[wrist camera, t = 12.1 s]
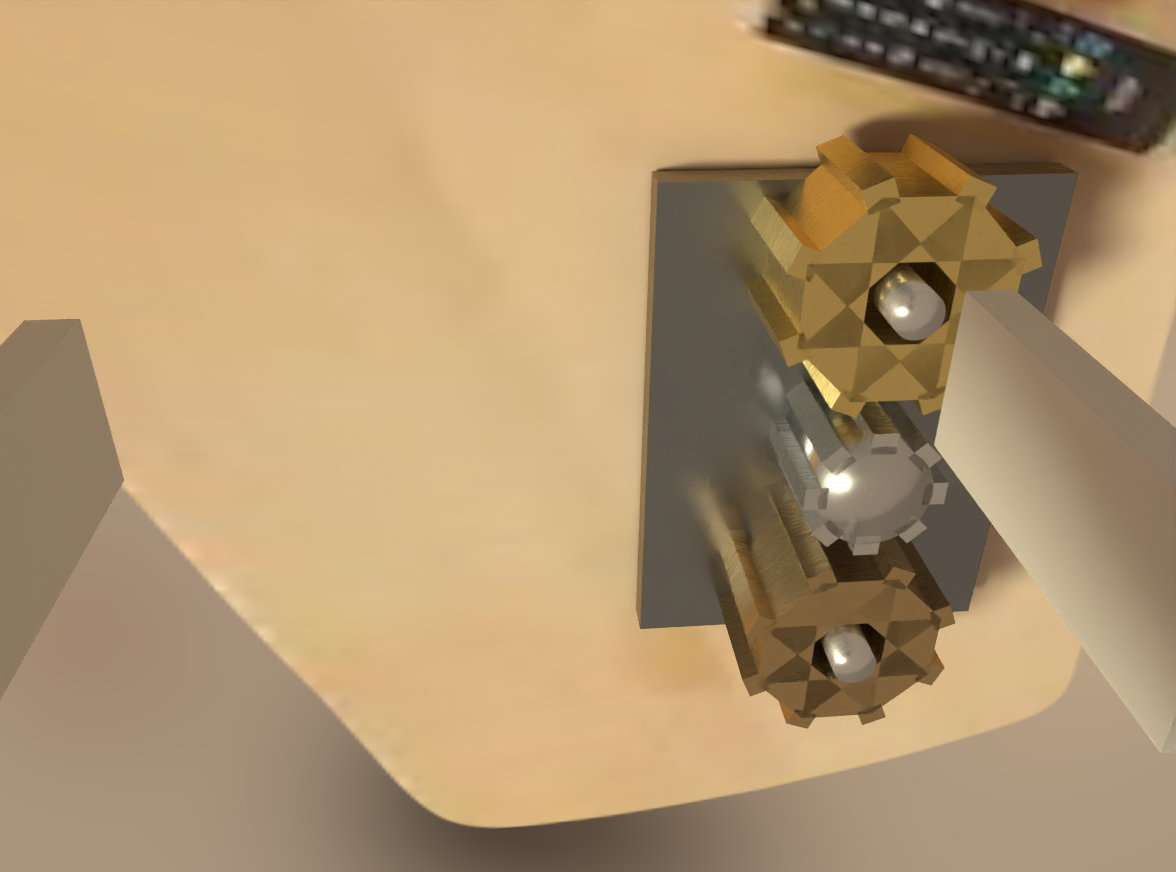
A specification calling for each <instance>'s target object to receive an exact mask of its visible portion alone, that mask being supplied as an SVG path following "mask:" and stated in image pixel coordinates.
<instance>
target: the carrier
mask: <svg viewBox="0 0 1176 872" xmlns="http://www.w3.org/2000/svg"><path fill="white" fill-rule="evenodd" d="M965 166H967V167H968V168H970V169H971V170H973V171H974V172H975V173H977V174H978V175H980V176H981V177H983V178H984V179H986V180H987V181H989V182H990V183H992V184H993V185H994V186H996V187H997V189H996V191H995V192H994V194H993V196H992V197H991V199H990V200H989V202H988V203H989V204H991V205H992V206H993V207H995V208H996V209H998V210H999V211H1000V212H1002V213H1003V214H1004V215H1006V216H1007V217H1009V218H1010V219H1011V220H1013V221H1014V222H1015V223H1017V224H1018V225H1020V226H1021V227H1022V228H1024V229H1025V230H1026V231H1028V232H1029V233H1030V234H1032V235H1033V236H1035V237H1036V238H1037V239H1038V245H1039V250H1040V256H1041V261H1042V267H1039V268H1037V269H1034V270H1032V271H1029V272H1027V273H1024V274H1022V276H1021V280H1020V284H1019V288H1018V293H1019V294H1020V295H1021V296H1022V297H1023V298H1024V299H1026V300H1027V301H1028V302H1029V303H1030V304H1031V305H1033V306H1034V307H1035V308H1036V309H1037V310H1038V311H1040V312H1041V313H1042V314H1043V310H1044V306H1045V302H1046V298H1047V294H1048V290H1049V286H1050V282H1051V278H1052V274H1053V270H1054V266H1055V262H1056V258H1057V254H1058V250H1059V246H1060V242H1061V238H1062V234H1063V230H1064V226H1065V222H1066V218H1067V214H1068V210H1069V206H1070V202H1071V198H1072V194H1073V190H1074V186H1075V182H1076V178H1077V174H1078V173H1076V172H1075V171H1073V170H1071V169H1069V168H1068V167H1066V166H1064V165H1062V164H1061V163H1030V164H982V165H965ZM816 169H817V168H791V169H743V170H695V171H652V187H651V214H650V242H649V270H648V298H647V325H646V353H645V381H644V409H643V437H642V464H641V492H640V520H639V548H638V575H637V603H636V610H637V616H638V621H639V626H640V629H648V628H666V627H684V626H702V625H720V624H725V620H724V617H723V614H722V611H721V607H720V604H719V601H718V598H720V597H723V596H726V595H728V594H731V593H732V590H733V589H732V586H731V583H730V580H729V577H728V574H727V571H726V568H725V565H724V562H723V559H722V554H723V552H724V551H725V549H726V547H727V546H728V544H729V542H730V540H731V539H732V538H734V539H738V540H741V541H744V542H747V541H748V540H749V539H750V538H752V537H753V536H754V535H755V534H757V533H758V532H759V531H760V530H762V529H763V528H764V527H765V526H767V525H768V524H769V523H770V522H772V521H773V520H774V519H775V518H776V517H778V516H779V515H778V512H777V510H776V507H775V503H777V502H780V501H783V500H785V499H788V498H791V497H793V496H794V497H795V499H796V501H797V503H798V505H799V508H800V510H801V512H802V514H803V516H804V518H805V520H806V523H807V525H808V527H809V529H810V531H811V533H812V534H813V535H814V536H815V537H816V538H817V539H818V540H819V541H820V542H822V543H823V544H824V545H825V546H826V547H828V546H829V545H831V544H832V543H833V542H835V541H836V540H837V539H838V538H840V539H842V540H845V541H846V542H847V544H848V546H849V548H850V550H851V552H852V554H853V555H870V554H878V549H879V544H880V542H882V541H885V540H888V539H891V538H893V537H896V536H898V535H899V536H900V537H901V538H902V539H903V540H904V541H905V542H906V543H908V542H909V541H912V543H913V544H914V546H915V548H916V549H917V551H918V553H919V554H920V556H921V558H922V559H923V561H924V563H925V564H926V566H927V568H928V569H929V571H930V573H931V574H932V576H933V578H934V579H935V581H936V583H937V584H938V586H939V588H940V589H941V591H942V593H943V594H944V596H945V597H946V599H947V601H948V602H949V604H950V606H951V610H952V612H955V611H968V609H969V605H970V601H971V597H972V593H973V589H974V585H975V581H976V577H977V573H978V569H979V565H980V561H981V557H982V553H983V549H984V545H985V541H986V537H987V533H988V529H989V525H990V520H989V519H988V518H987V516H986V515H985V514H984V512H983V511H982V510H981V508H980V507H979V506H978V504H977V503H976V501H975V500H974V499H973V497H972V496H971V495H970V493H969V492H968V491H967V489H966V488H965V487H964V485H963V484H962V482H961V481H960V480H959V478H958V477H957V476H956V474H955V473H954V472H953V470H952V469H951V468H950V466H949V465H948V463H947V462H946V461H945V459H944V458H943V457H942V455H941V454H940V453H939V451H938V450H937V448H936V447H935V446H934V443H935V438H936V433H937V428H938V423H939V418H940V414H941V409H942V408H941V409H939V410H936V411H933V412H931V413H928V414H926V415H922V413H921V412H920V411H919V410H918V408H917V407H916V406H915V404H914V403H913V402H912V400H901V401H875V402H866V403H865V405H864V406H863V408H862V410H861V411H860V413H859V414H858V416H857V418H854V417H852V416H849V415H846V414H843V413H840V412H837V411H834V410H832V409H831V408H830V407H829V405H828V404H827V402H826V400H825V399H824V397H823V395H822V394H821V392H820V390H819V389H818V387H817V385H816V384H815V382H814V380H813V379H812V377H811V375H810V374H809V372H808V370H807V369H806V367H805V365H804V364H803V362H800V363H797V364H795V365H792V366H790V367H788V366H787V364H786V363H785V361H784V359H783V357H782V356H781V354H780V352H779V350H778V349H777V347H776V345H775V343H774V342H773V340H772V338H771V336H770V335H769V333H768V331H767V329H766V328H765V326H764V324H763V322H762V321H761V319H760V317H759V315H758V314H757V312H756V310H755V308H754V307H753V304H752V301H751V298H750V295H749V292H748V290H747V287H746V284H745V283H747V282H749V281H752V280H754V279H757V278H759V277H762V276H763V267H764V257H765V246H766V243H765V241H764V240H763V238H762V237H761V235H760V234H759V232H758V231H757V230H756V228H755V227H754V225H753V224H752V222H751V220H752V218H753V216H754V214H755V212H756V210H757V208H758V206H759V204H760V202H761V200H762V198H763V196H767V197H769V198H772V199H774V200H777V201H779V202H781V201H782V200H783V199H784V198H785V197H787V196H788V195H789V194H790V193H791V192H792V191H793V190H794V189H795V188H796V187H797V186H798V185H799V184H801V183H802V182H803V181H804V180H805V179H806V178H807V177H808V176H809V175H810V174H811V173H812V172H814V171H815V170H816ZM868 298H869V300H870V301H871V302H872V303H873V304H874V306H875V307H876V308H877V309H878V310H879V312H880V313H881V314H882V315H883V317H884V318H885V319H886V320H887V321H888V323H889V324H890V325H891V326H892V327H893V329H894V330H895V331H896V332H897V333H898V334H899V335H900V336H901V337H902V338H904V339H907V340H921V339H924V338H927V337H929V336H931V335H932V334H933V333H935V332H936V331H937V330H938V329H939V328H940V326H941V325H942V323H943V321H944V318H945V313H946V308H945V304H944V302H943V300H942V299H941V297H940V296H939V295H938V294H937V293H936V292H935V291H934V290H933V289H932V288H931V287H930V286H929V285H928V284H927V283H926V282H925V281H924V280H923V279H922V278H921V277H920V276H919V275H918V274H917V273H916V272H915V271H914V270H913V269H912V268H911V267H910V266H909V265H908V264H907V263H898V264H897V265H896V266H895V267H893V268H892V269H891V270H890V271H889V272H888V273H886V274H885V275H884V276H883V277H882V278H881V279H879V280H878V281H877V282H876V283H875V284H874V285H873V286H871V287H870V288H869V292H868ZM820 641H821V643H822V646H823V648H824V650H825V653H826V655H827V658H828V660H829V662H830V665H831V667H832V670H833V672H834V674H835V676H836V677H837V678H838V679H839V680H841V681H843V682H848V683H853V682H858V681H861V680H863V679H865V678H867V677H868V676H870V675H871V674H872V672H873V671H874V669H875V667H876V659H875V657H874V655H873V653H872V651H871V649H870V646H869V644H868V642H867V640H866V638H865V636H864V634H863V632H862V630H861V627H860V625H859V624H846V625H837V626H836V627H835V628H833V629H832V630H831V631H829V632H828V633H827V634H825V635H824V636H823V637H821V638H820Z"/></svg>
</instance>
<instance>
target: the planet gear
mask: <svg viewBox="0 0 1176 872" xmlns="http://www.w3.org/2000/svg"><path fill="white" fill-rule="evenodd" d="M816 149H817V153H818V156H819V160H820V163H821V165H820V166H819V167H818V168H817V169H816V170H815V171H814V172H812V173H811V174H810V175H809V176H808V177H807V178H806V179H805V180H804V181H803V182H802V183H801V184H799V185H798V186H797V187H796V188H795V189H794V190H793V191H792V192H791V193H790V194H789V195H788V196H787V197H785V198H784V199H783V200H782V201H781V202H779V201H777V200H774V199H772V198H769V197H767V196H763V198H762V200H761V202H760V204H759V206H758V208H757V210H756V212H755V214H754V216H753V218H752V220H751V222H752V224H753V225H754V227H755V228H756V230H757V231H758V232H759V234H760V235H761V237H762V238H763V240H764V241H765V243H766V246H765V257H764V267H763V276H762V277H759V278H757V279H754V280H752V281H749V282H747V283H745V284H746V287H747V290H748V292H749V295H750V298H751V301H752V304H753V307H754V308H755V310H756V312H757V314H758V315H759V317H760V319H761V321H762V322H763V324H764V326H765V328H766V329H767V331H768V333H769V335H770V336H771V338H772V340H773V342H774V343H775V345H776V347H777V349H778V350H779V352H780V354H781V356H782V357H783V359H784V361H785V363H786V364H787V366H788V367H790V366H792V365H795V364H797V363H800V362H803V364H804V365H805V367H806V369H807V370H808V372H809V374H810V375H811V377H812V379H813V380H814V382H815V384H816V385H817V387H818V389H819V390H820V392H821V394H822V395H823V397H824V399H825V400H826V402H827V404H828V405H829V407H830V408H831V409H832V410H834V411H837V412H840V413H843V414H846V415H849V416H852V417H854V418H857V416H858V414H859V413H860V411H861V410H862V408H863V406H864V405H865V403H866V402H875V401H901V400H912V402H913V403H914V404H915V406H916V407H917V408H918V410H919V411H920V412H921V413H922V415H926V414H928V413H931V412H933V411H936V410H939V409H941V408H942V404H943V399H944V394H945V389H946V384H947V380H948V375H949V370H950V365H951V360H952V355H953V350H954V346H955V341H956V336H957V331H958V326H959V321H960V316H961V312H962V307H963V302H964V297H965V292H966V291H981V290H1013V289H1014V290H1015V291H1016V292H1017V293H1018V288H1019V284H1020V280H1021V276H1022V274H1024V273H1027V272H1029V271H1032V270H1034V269H1037V268H1039V267H1042V261H1041V256H1040V250H1039V245H1038V239H1037V238H1036V237H1035V236H1033V235H1032V234H1030V233H1029V232H1028V231H1026V230H1025V229H1024V228H1022V227H1021V226H1020V225H1018V224H1017V223H1015V222H1014V221H1013V220H1011V219H1010V218H1009V217H1007V216H1006V215H1004V214H1003V213H1002V212H1000V211H999V210H998V209H996V208H995V207H993V206H992V205H991V204H989V203H988V202H989V200H990V199H991V197H992V196H993V194H994V192H995V191H996V189H997V187H996V186H994V185H993V184H992V183H990V182H989V181H987V180H986V179H984V178H983V177H981V176H980V175H978V174H977V173H975V172H974V171H973V170H971V169H970V168H968V167H967V166H965V165H964V164H962V163H961V162H959V161H958V160H956V159H955V158H954V157H952V156H951V155H949V154H948V153H946V152H945V151H943V150H942V149H940V148H939V147H938V146H936V145H935V144H932V143H930V142H928V141H926V140H923V139H921V138H919V137H917V136H914V135H912V134H910V135H909V137H908V139H907V141H906V142H905V144H904V146H903V148H902V150H901V151H900V152H875V153H865V152H864V151H862V150H861V149H860V148H859V147H858V146H856V145H855V144H854V143H853V142H852V141H850V140H849V139H848V138H847V137H846V136H844V135H842V136H840V137H838V138H835V139H833V140H831V141H828V142H826V143H823V144H821V145H819V146H816ZM898 263H907V264H908V265H909V266H910V267H911V268H912V269H913V270H914V271H915V272H916V273H917V274H918V275H919V276H920V277H921V278H922V279H923V280H924V281H925V282H926V283H927V284H928V285H929V286H930V287H931V288H932V289H933V290H934V291H935V292H936V293H937V294H938V295H939V296H940V297H941V299H942V300H943V302H944V304H945V308H946V313H945V318H944V321H943V323H942V325H941V326H940V328H939V329H938V330H937V331H936V332H935V333H933V334H932V335H931V336H929V337H927V338H924V339H921V340H907V339H904V338H902V337H901V336H900V335H899V334H898V333H897V332H896V331H895V330H894V329H893V327H892V326H891V325H890V324H889V323H888V321H887V320H886V319H885V318H884V317H883V315H882V314H881V313H880V312H879V310H878V309H877V308H876V307H875V306H874V304H873V303H872V302H871V301H870V300H869V298H868V292H869V288H870V287H871V286H873V285H874V284H875V283H876V282H877V281H878V280H879V279H881V278H882V277H883V276H884V275H885V274H886V273H888V272H889V271H890V270H891V269H892V268H893V267H895V266H896V265H897V264H898Z"/></svg>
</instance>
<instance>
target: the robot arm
mask: <svg viewBox="0 0 1176 872" xmlns="http://www.w3.org/2000/svg"><path fill="white" fill-rule="evenodd" d="M934 446H935V447H936V448H937V450H938V451H939V453H940V454H941V455H942V457H943V458H944V459H945V461H946V462H947V463H948V465H949V466H950V468H951V469H952V470H953V472H954V473H955V474H956V476H957V477H958V478H959V480H960V481H961V482H962V484H963V485H964V487H965V488H966V489H967V491H968V492H969V493H970V495H971V496H972V497H973V499H974V500H975V501H976V503H977V504H978V506H979V507H980V508H981V510H982V511H983V512H984V514H985V515H986V516H987V518H988V519H989V520H990V522H991V523H992V525H993V526H994V527H995V529H996V530H997V531H998V533H999V534H1000V535H1001V537H1002V538H1003V540H1004V541H1005V542H1006V544H1007V545H1008V546H1009V548H1010V549H1011V550H1012V552H1013V553H1014V554H1015V556H1016V557H1017V559H1018V560H1019V561H1020V563H1021V564H1022V565H1023V567H1024V568H1025V569H1026V571H1027V572H1028V573H1029V575H1030V576H1031V578H1032V579H1033V580H1034V582H1035V583H1036V584H1037V586H1038V587H1039V588H1040V590H1041V591H1042V593H1043V594H1044V595H1045V597H1046V598H1047V599H1048V601H1049V602H1050V603H1051V605H1052V606H1053V607H1054V609H1055V610H1056V612H1057V613H1058V614H1059V616H1060V617H1061V618H1062V620H1063V621H1064V622H1065V624H1066V625H1067V626H1068V628H1069V629H1070V631H1071V632H1072V633H1073V635H1074V636H1075V637H1076V639H1077V640H1078V641H1079V643H1080V644H1081V646H1082V647H1083V648H1084V650H1085V651H1086V652H1087V653H1088V655H1089V656H1090V658H1091V659H1092V660H1093V662H1094V663H1095V664H1096V666H1097V667H1098V669H1099V670H1100V671H1101V673H1102V674H1103V675H1104V677H1105V678H1106V679H1107V681H1108V682H1109V683H1110V685H1111V686H1112V688H1113V689H1114V690H1115V692H1116V693H1117V694H1118V696H1119V697H1120V698H1121V700H1122V701H1123V702H1124V704H1125V705H1126V706H1127V708H1128V709H1129V711H1130V712H1131V713H1132V715H1133V716H1134V717H1135V719H1136V720H1137V722H1138V723H1139V724H1140V726H1141V727H1142V728H1143V730H1144V731H1145V732H1146V734H1147V735H1148V737H1149V738H1150V739H1151V741H1152V742H1153V743H1154V745H1155V746H1156V747H1157V749H1158V750H1159V751H1160V753H1167V752H1176V428H1175V427H1174V426H1172V425H1171V424H1170V423H1169V422H1168V421H1166V420H1165V419H1164V418H1163V417H1162V416H1161V415H1160V414H1159V413H1157V412H1156V411H1155V410H1154V409H1153V408H1152V407H1150V406H1149V405H1148V404H1147V403H1146V402H1145V401H1143V400H1142V399H1141V398H1140V397H1139V396H1138V395H1136V394H1135V393H1134V392H1133V391H1132V390H1131V389H1129V388H1128V387H1127V386H1126V385H1125V384H1124V383H1122V382H1121V381H1120V380H1119V379H1118V378H1117V377H1115V376H1114V375H1113V374H1112V373H1111V372H1110V371H1108V370H1107V369H1106V368H1105V367H1104V366H1103V365H1101V364H1100V363H1099V362H1098V361H1097V360H1096V359H1094V358H1093V357H1092V356H1091V355H1090V354H1089V353H1087V352H1086V351H1085V350H1084V349H1083V348H1082V347H1080V346H1079V345H1078V344H1077V343H1076V342H1075V341H1073V340H1072V339H1071V338H1070V337H1069V336H1068V335H1066V334H1065V333H1064V332H1063V331H1062V330H1061V329H1059V328H1058V327H1057V326H1056V325H1055V324H1054V323H1052V322H1051V321H1050V320H1049V319H1048V318H1047V317H1045V316H1044V315H1043V314H1042V313H1041V312H1040V311H1038V310H1037V309H1036V308H1035V307H1034V306H1033V305H1031V304H1030V303H1029V302H1028V301H1027V300H1026V299H1024V298H1023V297H1022V296H1021V295H1020V294H1019V293H1017V292H1016V291H1015V290H1014V289H1013V290H981V291H966V292H965V297H964V302H963V307H962V312H961V316H960V321H959V326H958V331H957V336H956V341H955V346H954V350H953V355H952V360H951V365H950V370H949V375H948V380H947V384H946V389H945V394H944V399H943V404H942V409H941V414H940V418H939V423H938V428H937V433H936V438H935V443H934ZM123 481H124V478H123V475H122V471H121V467H120V464H119V460H118V456H117V453H116V449H115V445H114V442H113V438H112V434H111V431H110V427H109V424H108V420H107V416H106V413H105V409H104V405H103V402H102V398H101V394H100V391H99V387H98V383H97V380H96V376H95V372H94V369H93V365H92V361H91V358H90V354H89V350H88V347H87V343H86V339H85V336H84V332H83V328H82V325H81V321H80V319H60V320H28V321H24V322H23V323H22V324H21V325H20V326H19V327H18V328H17V329H16V330H15V331H14V332H13V333H12V334H11V335H10V336H9V337H8V338H7V339H6V340H5V342H4V343H3V344H2V345H1V346H0V700H1V698H2V696H3V694H4V692H5V690H6V689H7V687H8V685H9V684H10V682H11V680H12V678H13V676H14V675H15V673H16V671H17V669H18V668H19V666H20V664H21V662H22V660H23V659H24V657H25V655H26V653H27V651H28V650H29V648H30V646H31V644H32V643H33V641H34V639H35V637H36V635H37V634H38V632H39V630H40V628H41V626H42V625H43V623H44V621H45V620H46V618H47V616H48V614H49V612H50V611H51V609H52V607H53V605H54V604H55V602H56V600H57V598H58V596H59V595H60V593H61V591H62V589H63V588H64V586H65V584H66V582H67V580H68V579H69V577H70V575H71V573H72V572H73V570H74V568H75V566H76V564H77V563H78V561H79V559H80V557H81V556H82V554H83V552H84V550H85V548H86V547H87V545H88V543H89V541H90V540H91V538H92V536H93V534H94V533H95V531H96V529H97V527H98V525H99V524H100V522H101V520H102V518H103V517H104V515H105V513H106V511H107V509H108V508H109V505H110V504H111V502H112V500H113V499H114V497H115V495H116V493H117V492H118V490H119V488H120V486H121V485H122V483H123Z"/></svg>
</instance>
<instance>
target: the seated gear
mask: <svg viewBox="0 0 1176 872" xmlns="http://www.w3.org/2000/svg"><path fill="white" fill-rule="evenodd" d="M775 507H776V510H777V512H778V515H779V516H778V517H776V518H775V519H774V520H773V521H772V522H770V523H769V524H768V525H767V526H765V527H764V528H763V529H762V530H760V531H759V532H758V533H757V534H755V535H754V536H753V537H752V538H750V539H749V540H748V541H747V542H744V541H741V540H738V539H734V538H732V539H731V540H730V542H729V544H728V546H727V547H726V549H725V551H724V552H723V554H722V559H723V562H724V565H725V568H726V571H727V574H728V577H729V580H730V583H731V586H732V589H733V590H732V593H731V594H728V595H726V596H723V597H720V598H718V601H719V604H720V607H721V611H722V614H723V617H724V620H725V624H726V627H727V630H728V634H729V637H730V640H731V643H732V647H733V650H734V653H735V657H736V660H737V663H738V666H739V670H740V673H741V676H742V680H743V682H744V684H745V686H746V688H747V691H748V693H749V695H750V696H752V695H755V694H758V693H761V692H764V691H767V692H768V693H770V694H771V695H772V696H773V697H775V698H776V699H777V700H779V703H780V706H781V709H782V712H783V715H784V718H785V721H786V723H787V724H791V725H795V726H799V727H803V728H808V727H809V725H810V724H811V723H812V721H813V720H814V718H815V717H830V716H845V715H858V716H859V718H860V721H861V723H862V725H864V724H867V723H870V722H873V721H876V720H878V719H881V718H884V717H885V714H884V711H883V709H882V706H883V705H885V704H886V703H888V702H889V701H890V700H892V699H893V698H895V697H896V696H898V695H899V694H900V693H902V692H903V691H905V690H906V689H908V688H909V687H910V686H912V685H913V684H915V683H916V682H921V683H925V684H928V685H932V684H933V682H934V681H935V680H936V678H937V677H938V676H939V674H940V673H941V672H942V670H943V669H944V666H943V664H942V662H941V660H940V659H939V657H938V655H937V653H936V651H935V650H934V648H935V644H936V639H937V635H938V631H939V629H941V628H944V627H946V626H949V625H952V624H955V620H954V617H953V613H952V610H951V606H950V604H949V602H948V601H947V599H946V597H945V596H944V594H943V593H942V591H941V589H940V588H939V586H938V584H937V583H936V581H935V579H934V578H933V576H932V574H931V573H930V571H929V569H928V568H927V566H926V564H925V563H924V561H923V559H922V558H921V556H920V554H919V553H918V551H917V549H916V548H915V546H914V544H913V543H912V541H909V542H908V543H906V542H905V541H904V540H903V539H902V538H901V537H900V536H899V535H898V536H896V537H893V538H891V539H888V540H885V541H882V542H880V544H879V549H878V554H870V555H853V554H852V552H851V550H850V548H849V546H848V544H847V542H846V541H845V540H842V539H840V538H838V539H837V540H836V541H835V542H833V543H832V544H831V545H829V546H828V547H826V546H825V545H824V544H823V543H822V542H820V541H819V540H818V539H817V538H816V537H815V536H814V535H813V534H812V533H811V531H810V529H809V527H808V525H807V523H806V520H805V518H804V516H803V514H802V512H801V510H800V508H799V505H798V503H797V501H796V499H795V497H794V496H793V497H791V498H788V499H785V500H783V501H780V502H777V503H775ZM846 624H859V625H860V627H861V630H862V632H863V634H864V636H865V638H866V640H867V642H868V644H869V646H870V649H871V651H872V653H873V655H874V657H875V659H876V667H875V669H874V671H873V672H872V674H871V675H870V676H868V677H867V678H865V679H863V680H861V681H858V682H853V683H848V682H843V681H841V680H839V679H838V678H837V677H836V676H835V674H834V672H833V670H832V667H831V665H830V662H829V660H828V658H827V655H826V653H825V650H824V648H823V646H822V643H821V641H820V638H821V637H823V636H824V635H825V634H827V633H828V632H829V631H831V630H832V629H833V628H835V627H836V626H837V625H846Z"/></svg>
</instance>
